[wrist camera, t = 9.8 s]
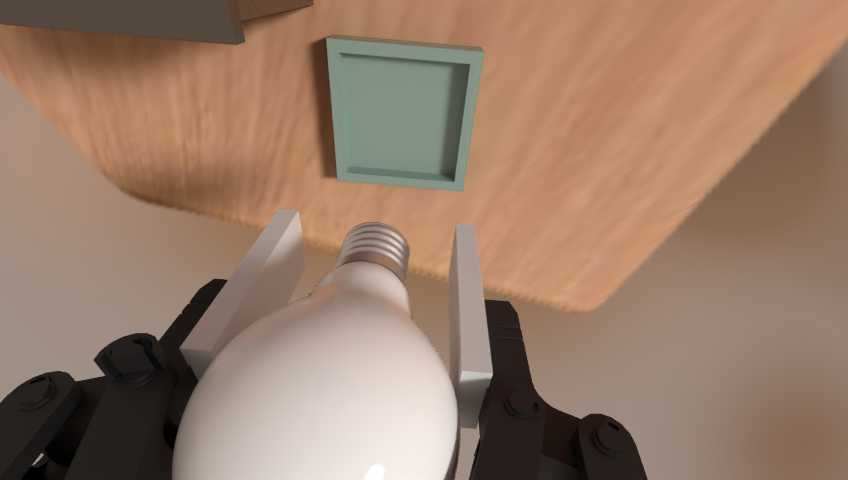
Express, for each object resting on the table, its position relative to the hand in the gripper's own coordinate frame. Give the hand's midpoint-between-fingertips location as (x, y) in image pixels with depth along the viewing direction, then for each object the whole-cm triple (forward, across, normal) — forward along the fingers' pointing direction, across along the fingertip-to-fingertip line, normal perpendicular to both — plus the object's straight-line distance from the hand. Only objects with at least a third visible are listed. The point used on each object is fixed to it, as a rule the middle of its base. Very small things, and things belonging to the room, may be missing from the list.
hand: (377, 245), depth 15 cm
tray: (+17, 0, 0) cm, 17 cm away
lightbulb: (+1, 0, 0) cm, 1 cm away
